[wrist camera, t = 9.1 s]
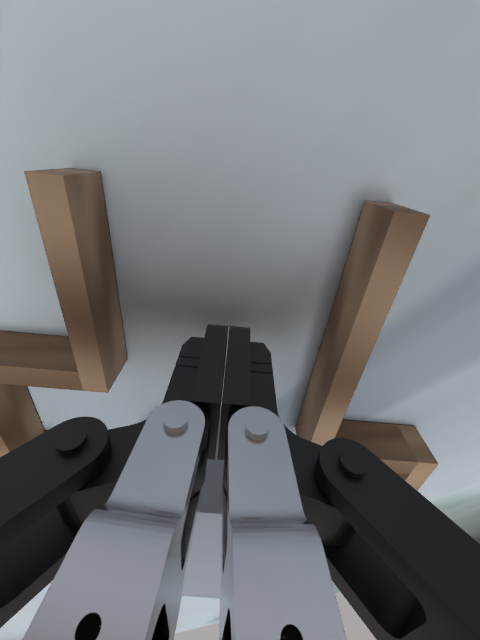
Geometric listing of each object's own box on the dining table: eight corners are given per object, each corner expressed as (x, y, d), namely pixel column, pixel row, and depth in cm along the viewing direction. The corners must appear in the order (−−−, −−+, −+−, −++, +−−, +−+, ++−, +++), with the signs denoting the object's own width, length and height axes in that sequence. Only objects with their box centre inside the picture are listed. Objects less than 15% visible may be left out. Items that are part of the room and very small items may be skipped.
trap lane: (-102, 149, 9) (-242, 146, 6) (546, 220, 10) (655, 243, 7) (65, 513, 21) (41, 562, 19) (346, 533, 22) (359, 583, 19)
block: (167, 409, 15) (136, 507, 11) (255, 417, 16) (259, 517, 11) (170, 501, 20) (150, 593, 16) (237, 506, 21) (234, 599, 16)
